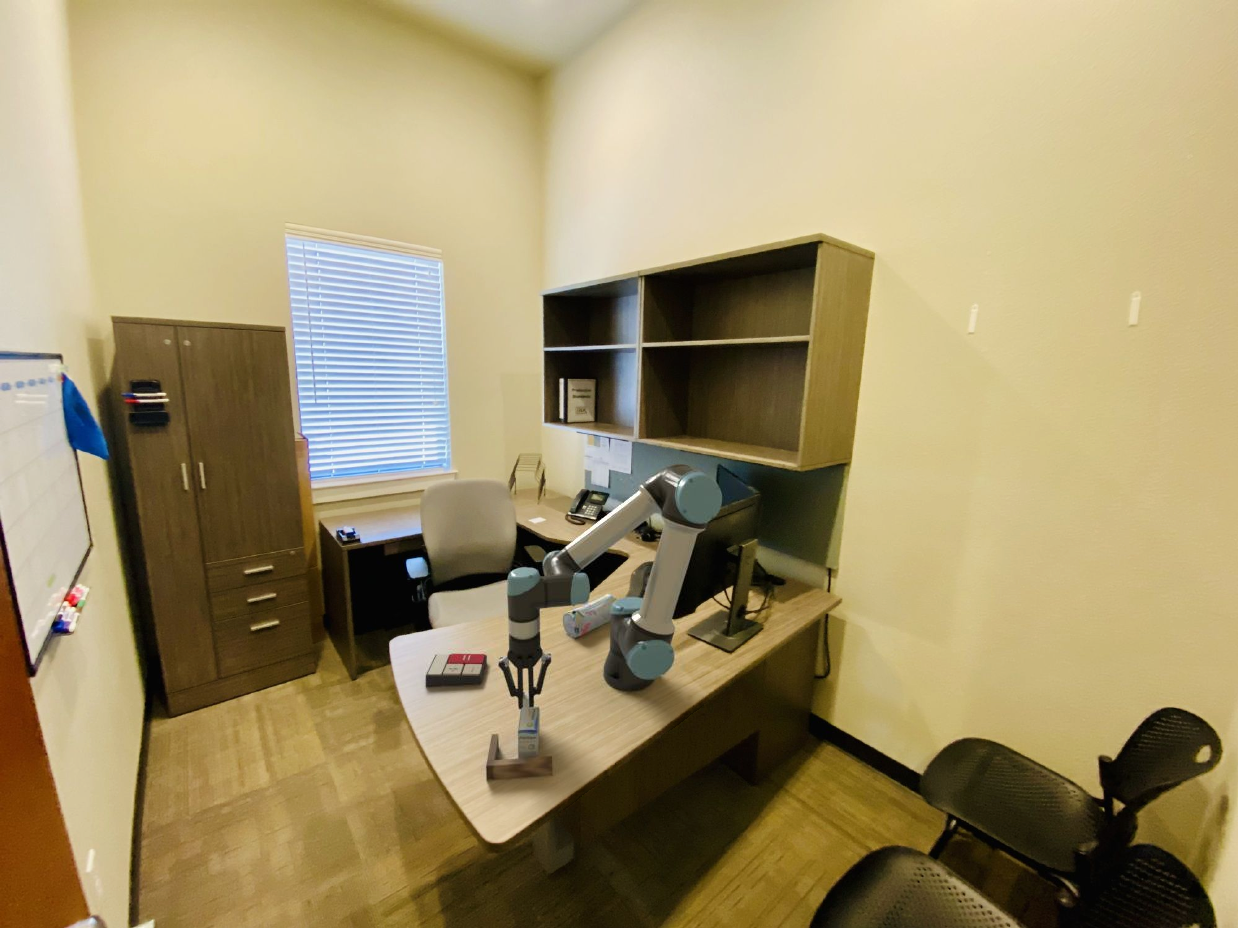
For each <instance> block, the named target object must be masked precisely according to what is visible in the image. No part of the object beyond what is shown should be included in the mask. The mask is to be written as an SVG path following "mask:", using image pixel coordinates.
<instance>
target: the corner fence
mask: <svg viewBox="0 0 1238 928" xmlns="http://www.w3.org/2000/svg"><path fill="white" fill-rule="evenodd" d="M499 737H500V735H499V733H492V734H491V737H490V742H489V749H488V754H487V759H486V765H485V767H486V768H485V769H486V770H485V771H486V772H485V773H486V781H495V780H496V781H497V780H508V779H509V780H510V779H522V778H535V777H545V776H546V777H547V776H553V755H548V756H547V755H545V756H538V757H531V758H518V757H517V758H509V759H507V758H506V759H504V758H503V759H498V755H499V745H500V744H499V740H500V739H499Z"/></svg>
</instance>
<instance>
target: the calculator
mask: <svg viewBox="0 0 1238 928" xmlns="http://www.w3.org/2000/svg"><path fill="white" fill-rule="evenodd" d="M487 663H488V656H487V654H485V653H451V654H450V653H436V654H435V655H434V657H433V659H432V661H431V664H430V666H429V668H428V670H427V672H426V675H425V688H433V687H435V688H436V687H445V686H446V687H448V686H449V687H451V686H452V687H453V686H454V687H457V686H459V687H460V686H480V685H481V684H482V682H483V679H484V674H485V670H486V668H487Z"/></svg>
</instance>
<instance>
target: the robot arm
mask: <svg viewBox="0 0 1238 928" xmlns="http://www.w3.org/2000/svg"><path fill="white" fill-rule="evenodd" d="M722 503H723V495H722V491H721V488H720V486H719V484H718V482H717V481H715V479H713V477H711V476H710V475H709V474H707V473H705V472H703V471H700V470H698V469H695V468H693V467H691V466H690V465H687V464H685V463H683V464H682V463H674V464H670V465H668V466H665V467H663V468H662V469H660V470H659V471H657V472H655V474H653V475H652V476H650V477H649V478H648V479H646V480H645V481H643V482H642V483H641V484H640V485H639V486H638V491H636V492H635V493H634V494H632V495H631V496H629V498H627V499H626V500H625V501H624V502H622V503H621V504H620V505H618V506H617V507H616V508H615V509H613V510H612V511H610V512H609V513H608V514H607V515H605V516H604V517H603V518H601V519H599V520H598V521H597V522H596V523H595V524H594V525H592V526H591V527H590V528H588V529H587V530H586V531H584V532H583V533H582V534H581V535H579V536H578V537H577V538H576V539H574V540H573V541H571V542H570V543H569V544H567V545H566V546H565V547H563V548H562V549H561V550H553V551H551V552H548V553H547V554H546V555H545V557H544V558H543V561H542V571H543V572H542V573H543V575H544V576H541V575H540V573H539V570H538V569H536V568H534V567H528V566H523V567H518V568H516V569H513V570H512V571H510V572H509V573H508V576H507V583H506V584H507V586H506V587H507V589H506V594H507V599H506V600H507V614H508V616H507V623H508V624H507V625H508V626H507V627H508V629H507V630H508V651H507V655H505V656H501V657H499V658H498V663H497V664H498V665H497V666H498V668H500V670H501V671H502V672H503V677H504V679H505V682H506V686H507V689H508V692H509V695H510V697H511V698H514V697H516V698H517V700H518V701H517V705H518V710H521V708H527V707H535V696H536V695H541V694H542V690H543V686H544V682H545V679H546V674H547V670H548V668H549V666H550V664H552V654H551V653H545V652H544V651H543V648H542V647H541V614H540V613H541V612H540V611H541V609H542V610H543V609H548V608H550V609H551V608H560V607H562V608H563V607H571V606H572V607H576V606H578V605H583V604H584V605H586V604H588V603H589V600H590V596H591V589H590V588H591V587H590V586H591V585H590V579H589V577H588V575H587V573H585V572H581V571H582V570H584V568H585V567H586V566H588V565H589V564H590V563H592V562H593V561H595V560H596V559H597V558H598V557H600V556H601V555H603V554H604V553H605V552H606V551H607V550H609V549H610V548H612V547H613V546H614V545H615V544H616V543H618V542H619V541H621V540H622V539H623V538H625V537H626V536H627V535H628V534H630V533H631V532H632V531H634V530H635V529H636V528H638V527H639V526H640V525H641V524H643V523H644V522H645V521H647V520H648V519H649V518H650V517H652V516H653V515H654V514H661V515H660V517H661V519H662V521H663V523H664V525H663V530H662V532H661V536H660V539H659V542H658V546H657V549H656V553H655V557H654V560H653V564H652V567H651V569H650V573H649V576H648V577H649V578H648V580H647V583H646V587H645V591H644V594H643V597H638V596H637V597H636V596H626V597H621V598H618V599H617V598H616V599H617V600H616V601H614V602H613V603H612V605H611V612H610V614H611V619H610V621H609V623H610V625H609V626H610V630H609V633H610V634H609V644H610V645H609V650H608V652H607V656H606V659H605V662H604V664H603V671H602V672H603V678H604V680H605V682H606V683H607V684H608V685H609V686H611V687H612V688H614V689H617V690H621V691H627V692H632V691H639V690H644V689H646V688H649V687H650V686H651V685H652V684H653V683H654V681H655V679H659V678H660V677H661V676H662V675H663V676H664V675H665V674H667V672H669V671H670V670H671V668H672V667H673V665H674V662H675V650H674V648H673V646H672V645H671V644H672V641H673V638H674V635H675V632H676V631H675V630H676V627H675V626H676V625H675V624H674V622H673V616H674V613H675V610H676V606H677V603H678V601H679V596H680V594H681V590H682V587H683V583H684V580H685V577H686V574H687V570H688V568H689V564H690V560H691V557H692V554H693V550H694V547H695V544H696V540H697V536H698V534H699V533H701V532H703V531H705V530H706V528H707V525H708V523H709V522H710V521H711V520H712V519H714V518H715V517H717V515H718V514H719V512H720V510H721V507H722ZM539 661H540V662H541V666H540V669H539V674H538V678H537V681H536V686H534V685H535V683H534V680H535V679H534V667H535V666H536V665H537V663H538V662H539ZM510 663H511V664H512V665H513V666H514V667H515V669H516V673H517V674H516V675H517V687H516V685H515V681H514V678H513V674H512V672H511V667H510ZM525 669H527V679H528V691H524V670H525Z"/></svg>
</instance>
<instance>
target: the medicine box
mask: <svg viewBox="0 0 1238 928" xmlns="http://www.w3.org/2000/svg"><path fill="white" fill-rule="evenodd" d="M540 711H541V710H540V707H539V706H534V707H527V708H521V709H520V715H519V720H518V722H519V723H518V729H517V730H518V731H517V759H518V758H531V757H539V746H540V745H539V743H540V719H541V718H540V716H541V714H540V713H541V712H540Z"/></svg>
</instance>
